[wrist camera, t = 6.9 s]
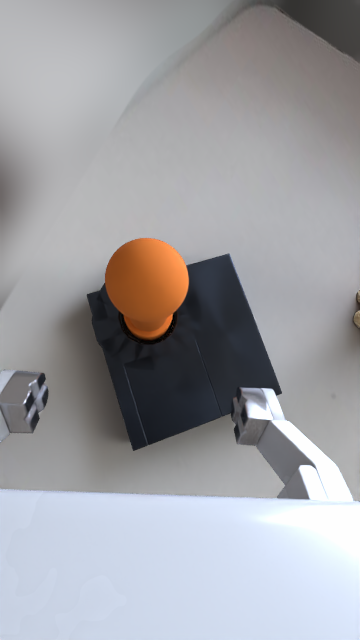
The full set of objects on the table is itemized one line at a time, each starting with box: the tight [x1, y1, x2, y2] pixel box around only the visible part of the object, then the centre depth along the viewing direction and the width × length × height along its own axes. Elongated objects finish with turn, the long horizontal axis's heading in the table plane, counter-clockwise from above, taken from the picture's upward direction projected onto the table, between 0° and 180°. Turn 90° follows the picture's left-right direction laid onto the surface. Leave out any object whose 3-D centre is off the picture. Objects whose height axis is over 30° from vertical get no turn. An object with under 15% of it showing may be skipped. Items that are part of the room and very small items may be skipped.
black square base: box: [87, 254, 282, 451], centre depth 22 cm, size 12×13×2 cm
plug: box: [105, 238, 189, 341], centre depth 17 cm, size 4×4×12 cm
